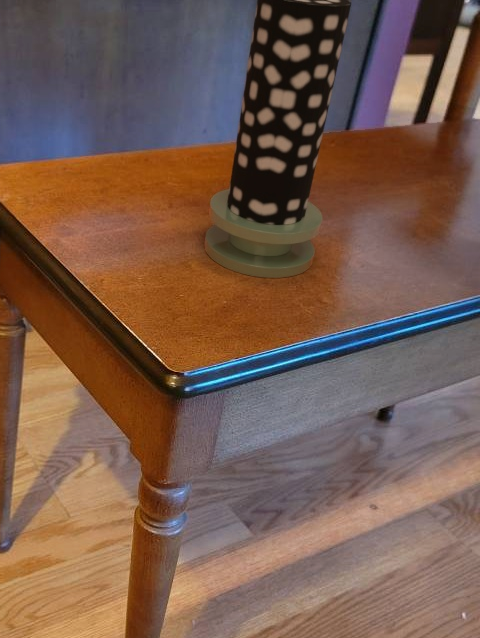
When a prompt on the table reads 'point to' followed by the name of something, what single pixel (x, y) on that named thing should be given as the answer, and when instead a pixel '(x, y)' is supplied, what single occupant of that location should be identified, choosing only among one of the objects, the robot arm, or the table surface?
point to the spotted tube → (285, 107)
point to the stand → (260, 242)
